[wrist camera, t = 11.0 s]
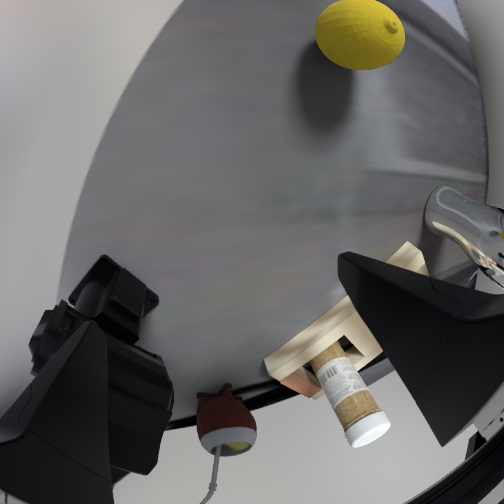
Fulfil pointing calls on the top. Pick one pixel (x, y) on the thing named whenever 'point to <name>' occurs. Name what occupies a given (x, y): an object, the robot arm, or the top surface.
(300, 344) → the beige wooden flat tray
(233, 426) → the mate gourd
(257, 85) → the top surface
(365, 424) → the sprinkles bottle
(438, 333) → the robot arm
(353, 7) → the lemon
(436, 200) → the beer glass
